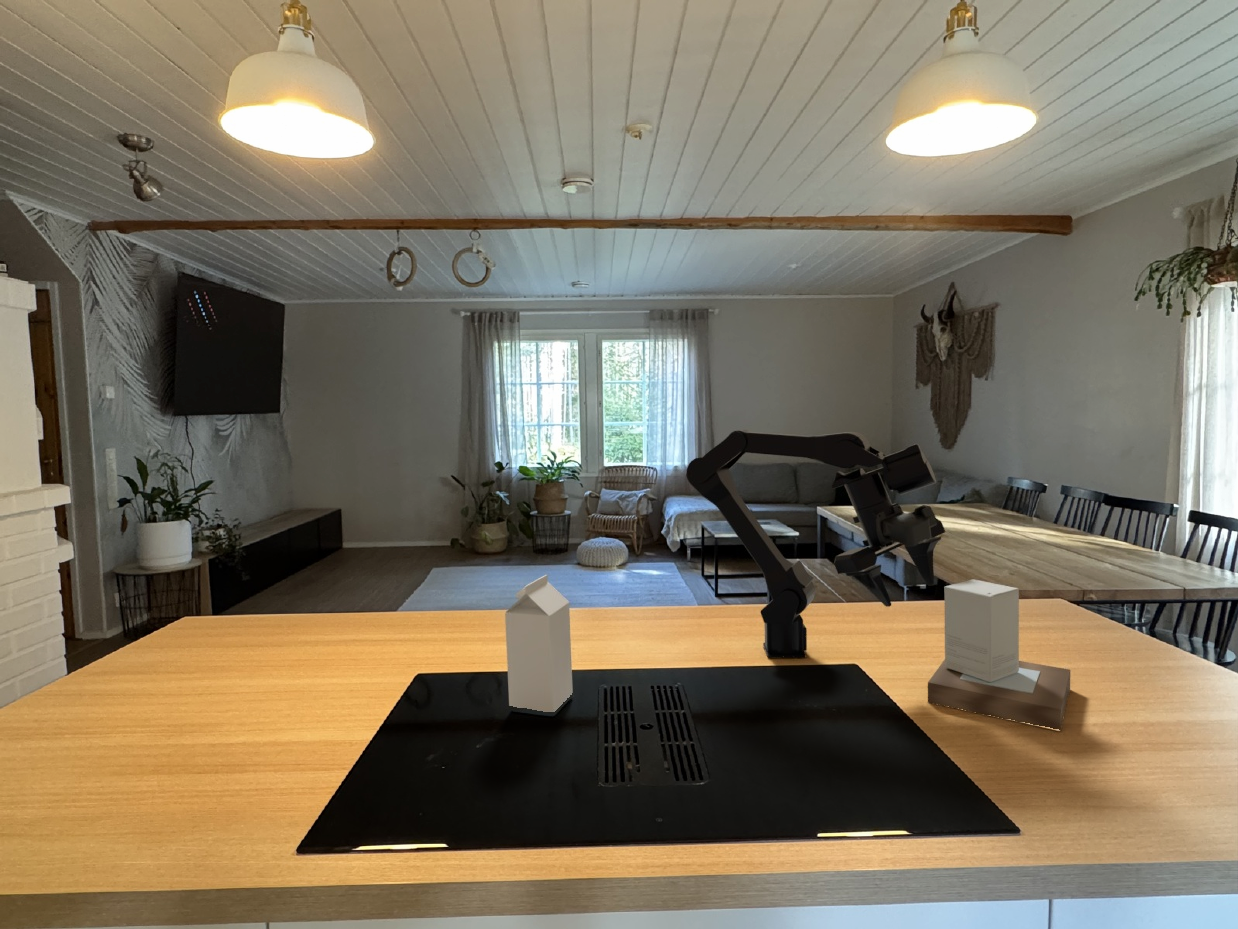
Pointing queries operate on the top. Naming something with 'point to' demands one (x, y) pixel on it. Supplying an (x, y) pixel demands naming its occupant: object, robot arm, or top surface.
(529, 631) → the milk carton
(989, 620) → the supplement box
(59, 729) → the top surface
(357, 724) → the top surface
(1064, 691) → the plinth
